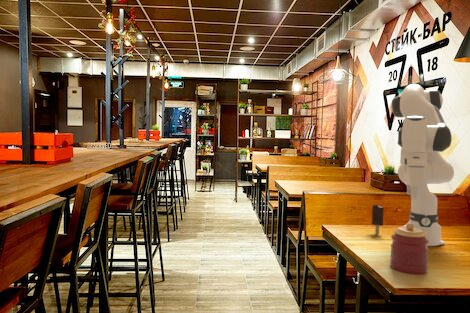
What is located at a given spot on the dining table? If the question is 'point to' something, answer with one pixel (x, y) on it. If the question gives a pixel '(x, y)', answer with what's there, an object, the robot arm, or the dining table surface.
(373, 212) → the ice cream bar
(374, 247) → the dining table surface
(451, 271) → the dining table surface
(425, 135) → the robot arm
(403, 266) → the canister
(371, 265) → the dining table surface
